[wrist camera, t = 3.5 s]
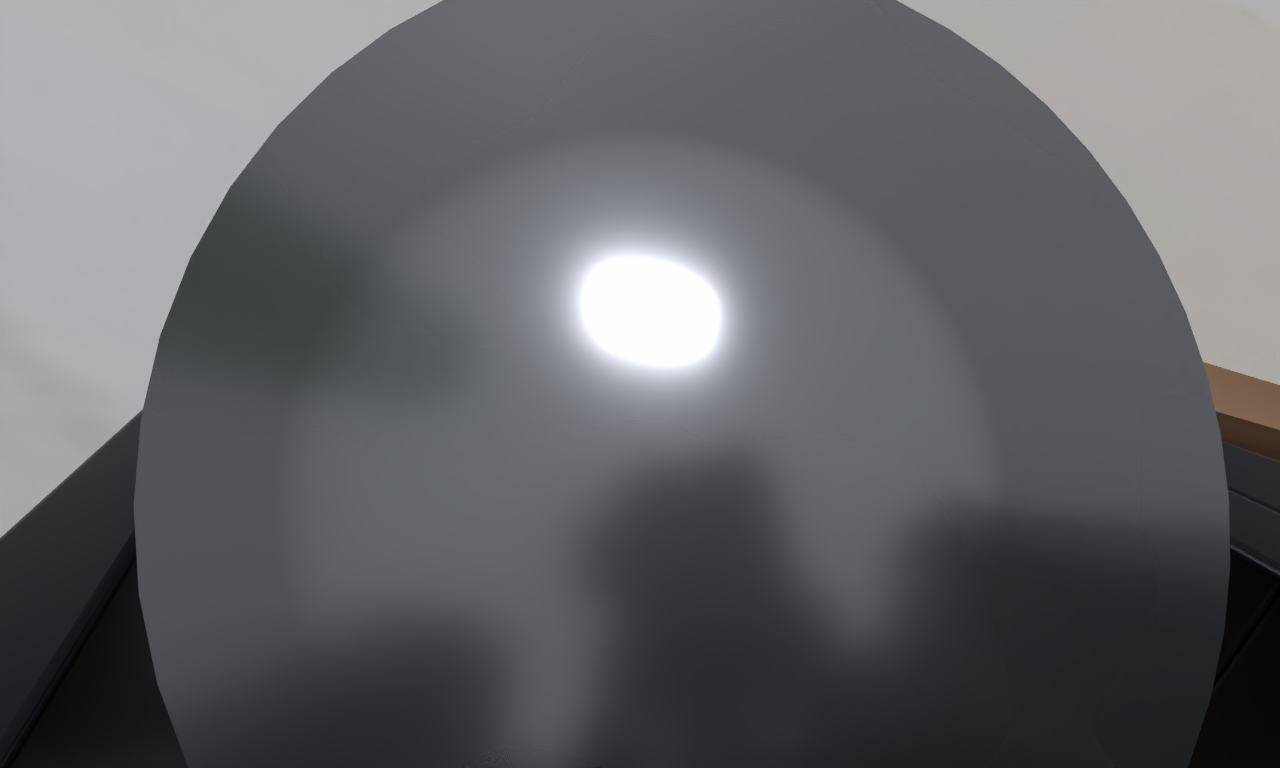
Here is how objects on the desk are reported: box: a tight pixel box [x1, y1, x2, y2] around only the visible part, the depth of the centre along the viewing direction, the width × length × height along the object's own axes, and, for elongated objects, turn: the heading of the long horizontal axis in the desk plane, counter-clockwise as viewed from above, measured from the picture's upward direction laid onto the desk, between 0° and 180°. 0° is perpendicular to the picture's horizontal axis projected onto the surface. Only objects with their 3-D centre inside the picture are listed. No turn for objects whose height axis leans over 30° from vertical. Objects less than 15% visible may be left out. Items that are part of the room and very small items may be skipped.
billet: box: [134, 0, 1230, 768], centre depth 9 cm, size 4×4×12 cm
